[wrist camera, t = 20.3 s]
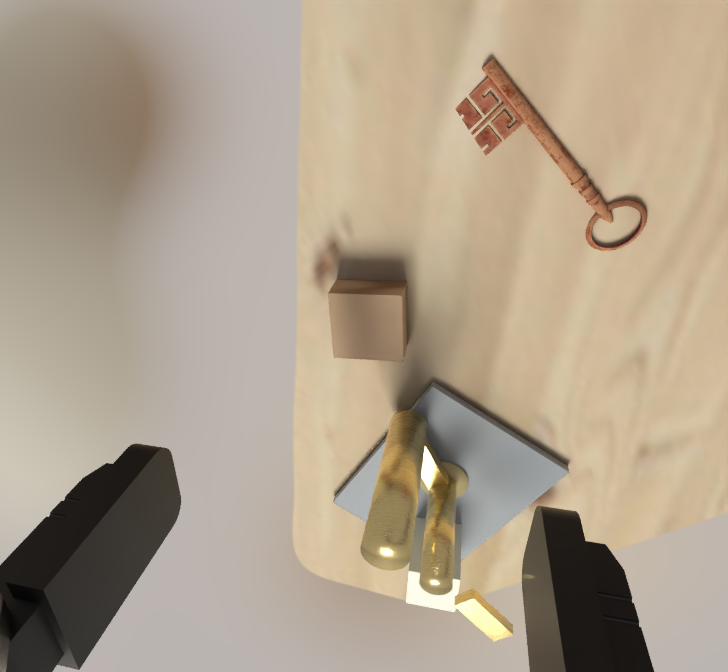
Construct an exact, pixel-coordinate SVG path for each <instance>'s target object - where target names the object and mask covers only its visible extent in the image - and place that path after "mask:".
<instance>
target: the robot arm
mask: <svg viewBox="0 0 728 672" xmlns="http://www.w3.org/2000/svg"><path fill="white" fill-rule="evenodd" d="M180 505H181V495H180V491H179V486H178V481H177V477H176V472H175V467H174V463H173V459H172V455H171V452H170V451H169V449H167V448H162V447H156V446H149V445H142V444H133V445H131V446H130V447H128V448H127V449H126V450H125V451H124V452H123V454H122V455H121V456H120V457H119V458H118V459H117V460H116V461H115V462H114V464H108V463H106V464H105V465H103V466H101V467H100V468H99V469H97V470H95V471H94V472H92V473H90V474H89V475H87V476H86V477H84V478H83V479H82V480H81V481H80V482H79V483H78V484H77V485H76V486H75V487H74V488H73V489H72V490H71V491H70V493H69V494H67V496H66V497H65V500H64V501H61V502H60V503H59V504H58V505H57V506H56V507H55V508H54V509H53V510H52V511H51V513H50V516H49V517H46V518H45V519H44V520H43V521H42V522H41V523H40V524H39V525H38V526H37V527H36V528H35V529H34V530H33V531H32V532H31V533H30V534H29V536H28V537H27V538H26V539H25V540H24V541H23V542H22V543H21V544H20V545H19V546H18V547H17V548H16V549H15V550H14V551H13V552H12V553H11V554H10V556H9V557H8V558H7V559H6V560H5V561H4V562H3V563H2V564H1V565H0V672H52V671H53V670H54V668H55V667H56V665H61V666H66V667H70V668H74V669H78V670H79V669H80V668H81V666H82V665H83V663H84V662H85V660H86V658H87V657H88V655H89V654H90V652H91V651H92V649H93V648H94V646H95V645H96V643H97V642H98V640H99V639H100V637H101V636H102V634H103V633H104V631H105V630H106V628H107V626H108V625H109V623H110V622H111V620H112V619H113V617H114V616H115V614H116V613H117V611H118V610H119V608H120V606H121V605H122V604H123V602H124V601H125V599H126V597H127V596H128V594H129V593H130V591H131V590H132V588H133V587H134V585H135V584H136V582H137V581H138V579H139V578H140V576H141V575H142V573H143V572H144V570H145V568H146V567H147V565H148V564H149V562H150V561H151V559H152V558H153V556H154V555H155V553H156V552H157V550H158V549H159V547H160V545H161V544H162V543H163V541H164V539H165V538H166V536H167V535H168V533H169V532H170V530H171V529H172V527H173V525H174V524H175V522H176V520H177V517H178V515H179V511H180ZM522 589H523V601H524V611H525V623H526V634H527V645H528V656H529V666H530V672H654V670H653V667H652V663H651V660H650V656H649V653H648V649H647V646H646V643H645V639H644V636H643V633H642V629H641V627H639V619H638V616H637V612H636V609H635V606H634V603H632V596H631V592H630V589H629V585H628V582H627V579H626V575H625V572H624V569H623V568H622V567H621V565H620V564H619V562H618V561H617V560H616V558H615V557H614V556H613V554H612V553H611V551H610V550H609V549H608V547H607V546H606V545H605V544H600V543H594V542H587V541H585V537H584V533H583V529H582V524H581V520H580V517H579V514H578V513H577V512H576V511H570V510H563V509H556V508H550V507H543V506H537V507H536V510H535V513H534V517H533V521H532V525H531V529H530V533H529V537H528V541H527V545H526V549H525V554H524V559H523V567H522Z"/></svg>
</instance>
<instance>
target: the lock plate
mask: <svg viewBox="0 0 728 672" xmlns="http://www.w3.org/2000/svg"><path fill="white" fill-rule="evenodd" d="M409 411H414V412H416V413H418V414H420V415H421V416H423V418H424V419H425V420H426V422H427V426H428V427H427V436H426V437H427V439H428V441H429V442H430V444H431V446H432V447H433V449H434V451H435V453H436V454H437V456H438V458H439V460H440V461H441V463H442V465H443V467H444V468H445V470H446V472H447V473H448V475H449V476H450V477H452V478H453V479H454V480H455V481H456V483H457V492H456V516H455V539H454V563H453V587H452V590H451V591H450V592H449V593H447V594H445V595H433V594H430V593H428V592H426V591H424V590H423V589H422V588H421V586H420V584H419V580H420V570H421V561H422V552H423V542H424V533H425V524H426V514H427V505H428V496H429V489H428V487H427V485H426V484H425V482H424V481H423V479H422V477H421V482H420V490H419V497H418V505H417V513H416V521H415V528H414V536H413V544H412V551H411V559H410V565H409V574H408V585H407V597H406V603H410V604H415V605H420V606H426V607H431V608H436V609H441V610H447V611H452V612H455V609H456V607H455V606H454V605H455V596H457V595H458V591H459V585H460V571H461V561H462V560H463V559H464V558H465V557H466V556H468V555H469V554H470V553H471V552H473V551H474V550H475V549H476V548H477V547H479V546H480V545H481V544H482V543H484V542H485V541H486V540H487V539H488V538H490V537H491V536H492V535H493V534H495V533H496V532H497V531H498V530H499V529H501V528H502V527H503V526H504V525H505V524H507V523H508V522H509V521H510V520H512V519H513V518H514V517H515V516H516V515H518V514H519V513H520V512H521V511H523V510H524V509H525V508H526V507H527V506H529V505H530V504H531V503H532V502H534V501H535V500H536V499H537V498H538V497H540V496H541V495H542V494H543V493H545V492H546V491H547V490H548V489H549V488H551V487H552V486H553V485H554V484H556V483H557V482H558V481H559V480H560V479H562V478H563V477H564V476H565V475H567V474H568V473H569V469H568V466H567V465H565V464H564V463H562V462H561V461H559V460H558V459H556V458H554V457H553V456H551V455H550V454H548V453H546V452H545V451H543V450H542V449H540V448H538V447H537V446H535V445H534V444H532V443H530V442H529V441H527V440H526V439H524V438H522V437H521V436H519V435H518V434H516V433H514V432H513V431H511V430H510V429H508V428H507V427H505V426H503V425H502V424H500V423H499V422H497V421H495V420H494V419H492V418H491V417H489V416H487V415H486V414H484V413H483V412H481V411H479V410H478V409H476V408H475V407H473V406H471V405H470V404H468V403H467V402H465V401H464V400H462V399H460V398H459V397H457V396H456V395H454V394H452V393H451V392H449V391H448V390H446V389H444V388H443V387H441V386H440V385H438V384H436V383H435V382H433V383H432V384H431V385H430V386H429V387H428V388H427V390H426V391H425V392H424V393H423V394H422V395H421V397H420V398H419V399H418V400H417V401H416V402H415V404H414V405H413V406H412V407H411V408H410V409H409ZM386 438H387V436H386V437H385V439H384V440H383V441H382V442H381V443H380V444H379V446H378V447H377V448H376V449H375V450H374V451H373V453H372V454H371V455H370V456H369V457H368V458H367V460H366V461H365V462H364V463H363V464H362V465H361V466H360V468H359V469H358V470H357V471H356V472H355V473H354V475H353V476H352V477H351V478H350V479H349V480H348V482H347V483H346V484H345V485H344V486H343V487H342V489H341V490H340V491H339V492H338V493H337V494H336V496H335V497H334V500H333V503H334V504H336V505H338V506H339V507H341V508H343V509H344V510H346V511H348V512H350V513H351V514H353V515H355V516H356V517H358V518H360V519H362V520H363V521H365V522H367V518H368V514H369V510H370V506H371V501H372V497H373V493H374V489H375V485H376V480H377V476H378V472H379V468H380V463H381V459H382V455H383V451H384V447H385V442H386Z"/></svg>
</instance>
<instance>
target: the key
mask: <svg viewBox="0 0 728 672" xmlns="http://www.w3.org/2000/svg"><path fill="white" fill-rule="evenodd" d="M482 70H483V71H484V72H485V74H486V75H487V76H488V78H487V79H486V80H485V81H484V82H483V83H481V84H480V85H479V86H478V87H477V88H476V89H475V90H474V91H473V92H472V93H471V94H470V95H469V96H470V97H471V99H472V100H473V101H474V102H475V103H476V105H477V106H478V107H479V108H480V110H481V111H482V112H483V113H484V115H486V114H487V113H488V112H489V111H490V110H491V109H492V108H493V107H494V106H495V105H496V104H498V102H497V100H496V99H495V98H494V97H493V95H492V94H491V93H489V94H488V95H487V96H486V97H485V98H484V97H483V96H482V95H483V94H484V93H485V92H486V91H487V90H488V89H489V88H490V87H492V88H493V90H494V91H495V92H496V94H497V95H498V96H499V97H500V99H501V100H502V101H503V102H504V103H503V104H502V105H501V106H499V107H498V108H497V109H496V110H495V111H494V112H493V113H492V114H491V115H490V116H489V117H488V118H487V119H485V120H484V121H483V122H482V123H481V124H480V125H479V126H478V127H477V128H476V129H475V130H474V131H472V132H471V134H472V135H473V134H474V133H475V132H476V131H478V130H479V129H480V128H481V127H482V126H483V125H484V124H485V123H486V122H487V121H489V120H490V119H491V118H492V117H493V116H494V115H495V114H496V113H497V112H498V111H500V110H501V109H502V108H503V107H504V106H505V105H506V107H507V108H508V109H509V111H510V112H511V113H512V114H513V116H514V117H515V118H516V119H517V122H516V123H515V124H514V125H513V126H511V127H510V128H509V129H508V127H507V126H508V125H509V124H510V123H511V122H512V121H513V120H512V119H511V118H510V117H509V115H508V114H507V113H506V112H505V111H504V112H502V113H501V114H500V115H499V116H498V117H497V118H496V119H495V120H494V121H493V122H492V125H493V126H494V127H495V128H496V129H497V131H498V132H499V133H500V134H501V136H502V137H503V138H504V139H506V138H507V137H508V136H509V135H510V134H511V133H512V132H514V131H515V130H516V129H517V128H518V127H519V126H521V125H522V124H523V123H525V124H526V125H527V127H528V128H529V129H530V131H531V132H532V133H533V134H534V136H535V137H536V138H537V139H538V141H539V142H540V143H541V144H542V146H543V147H544V148H545V149H546V151H547V152H548V153H549V155H550V156H551V157H552V158H553V160H554V161H555V162H556V163H557V165H558V166H559V167H560V168H561V170H562V171H563V172H564V174H565V175H566V176H567V177H568V179H569V180H570V181H571V182H572V184H571V185H572V186H573V187H575V188H576V189H578V190H579V193H580V194H581V195H582V196H584V197H585V198H586V200H587V201H586V202H587V203H588V204H589V205H591V206H592V207H593V209H594V210H595V211H596V212H597V213H596V214H595V215H594V216H593V217H592V219H591V220H590V222H589V224H588V226H587V229H586V239H587V242H588V243H589V245H590V246H591V247H593V248H595V249H597V250H602V251H610V250H616V249H619V248H621V247H624V246H626V245H627V244H629V243H631V242H632V241H633V240H634V239H636V238H637V237H638V235H639V234H640V233H641V232H642V230H643V228H644V226H645V224H646V220H647V213H646V210H645V208H644V207H643V206H642V205H641V204H640V203H638V202H636V201H631V200H623V201H617V202H614V203H611V204H609V205H606V204H605V203H604V201H603V200H602V199H601V196H600V194H599V193H596V191H595V190H594V187H593V185H592V184H591V183H590V184H589V182H588V178H587V176H586V174H585V173H584V174H583V173H582V172H581V170H580V169H579V168H578V166H577V165H576V164H575V163H574V161H573V160H572V159H571V157H570V156H569V155H568V154H567V152H566V151H565V150H564V148H563V147H562V146H561V145H560V143H559V142H558V141H557V139H556V138H555V137H554V136H553V134H552V133H551V132H550V130H549V129H548V128H547V127H546V125H545V124H544V123H543V121H542V120H541V119H540V118H539V116H538V115H537V114H536V113H535V111H534V110H533V109H532V107H531V106H530V105H529V104H528V102H527V101H526V100H525V98H524V97H523V96H522V95H521V93H520V92H519V91H518V89H517V88H516V87H515V86H514V84H513V83H512V82H511V80H510V79H509V78H508V77H507V75H506V74H505V73H504V71H503V70H502V69H501V68H500V66H499V65H498V64H497V63H496V61H495V60H494V59H492V60H491V61H490V62H489V63H488V64H487V65H486V66H485V67H484V68H483V69H482ZM456 111H457V112H458V114H459V115H460V116H461V115H462V114H463V115H464V116H465V117H464V118H463V119H462V120H463V121H464V123H465V124H466V126H467V128H468V129H470V128H472V127H473V126H474V125H475V124H476V123H477V122H478V121H479V120H480V119H481V118H482V117H481V116H480V115H479V113H478V112H477V111H476V110H475V108H474V107H473V106H472V105H471V103H470V102H469V101H468V100H467V98H466V99H465V100H464V101H463V102H462V103H461V104H460V105H459V106H458V107H457V108H456ZM475 140H476V141H477V143H478V144H479V146H480V147H481V149H482V148H483V147H484V146H485V145H486V144H488V145H489V147H488V148H487V149H486V150H485V151H483V152H484V154H485V155H487V154H488V153H489V152H491V151H492V150H493V149H494V148H495V147H496V146H498V145H499V144H500V143H501V140H500V139H499V138H498V137H497V135H496V134H495V133H494V132H493V131H492V129H491V128H490V127H489V126H487V127H486V128H485V129H484V130H483V131H482V132H481V133H480V134H478V135H477V136H476V137H475ZM622 206H630V207H633V208H636V209H637V210H638V211H639V212H640V215H641V221H640V224H639V227H638V229H637V230H636V232H635V233H634V234H633V235H632V236H631V237H630V238H629V239H627V240H626V241H624V242H622V243H620V244H618V245H615V246H611V247H602V246H598V245H596V244H595V243H594V242H593V240H592V236H591V231H592V228H593V226H594V224H595V223H596V221H597V220H598V219H599V218H600V217H601V218H602V219H604V220H606V221H608V222H610V223H612V222H613V219H612V214H611V210H612V209H614V208H617V207H622Z"/></svg>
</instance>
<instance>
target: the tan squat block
mask: <svg viewBox="0 0 728 672" xmlns="http://www.w3.org/2000/svg"><path fill="white" fill-rule="evenodd" d="M328 299H329V310H330V321H331V332H332V343H333V354H334V358H350V359H367V360H384V361H402V362H403V360H404V356H405V352H406V348H407V344H408V343H407V281H378V280H338V279H337V280H336V282H335V283H334V285H333V286H332V288H331V289H330V291H329V292H328Z"/></svg>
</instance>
